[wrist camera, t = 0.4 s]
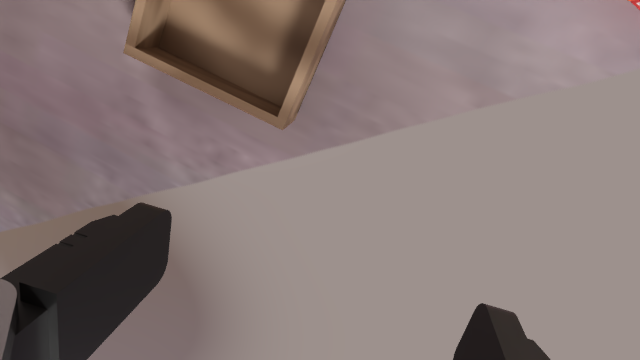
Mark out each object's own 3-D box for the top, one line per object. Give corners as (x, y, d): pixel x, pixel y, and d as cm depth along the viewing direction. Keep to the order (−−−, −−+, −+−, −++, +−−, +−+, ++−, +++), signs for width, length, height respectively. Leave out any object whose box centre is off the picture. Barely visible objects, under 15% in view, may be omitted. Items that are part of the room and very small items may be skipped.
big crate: (197, -116, 31) (168, -140, 27) (361, -36, 31) (357, -48, 27) (153, 51, 36) (123, 52, 32) (294, 120, 36) (282, 130, 32)
